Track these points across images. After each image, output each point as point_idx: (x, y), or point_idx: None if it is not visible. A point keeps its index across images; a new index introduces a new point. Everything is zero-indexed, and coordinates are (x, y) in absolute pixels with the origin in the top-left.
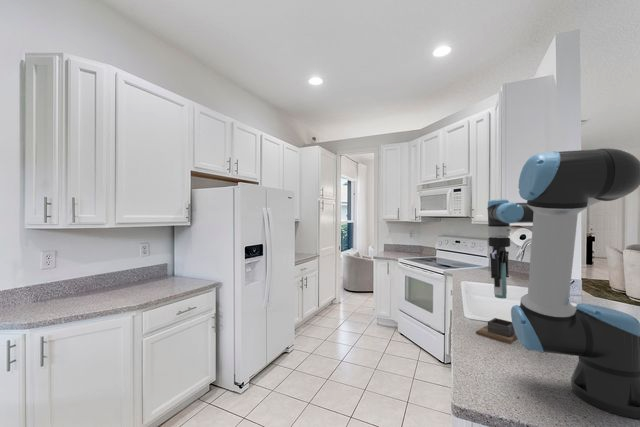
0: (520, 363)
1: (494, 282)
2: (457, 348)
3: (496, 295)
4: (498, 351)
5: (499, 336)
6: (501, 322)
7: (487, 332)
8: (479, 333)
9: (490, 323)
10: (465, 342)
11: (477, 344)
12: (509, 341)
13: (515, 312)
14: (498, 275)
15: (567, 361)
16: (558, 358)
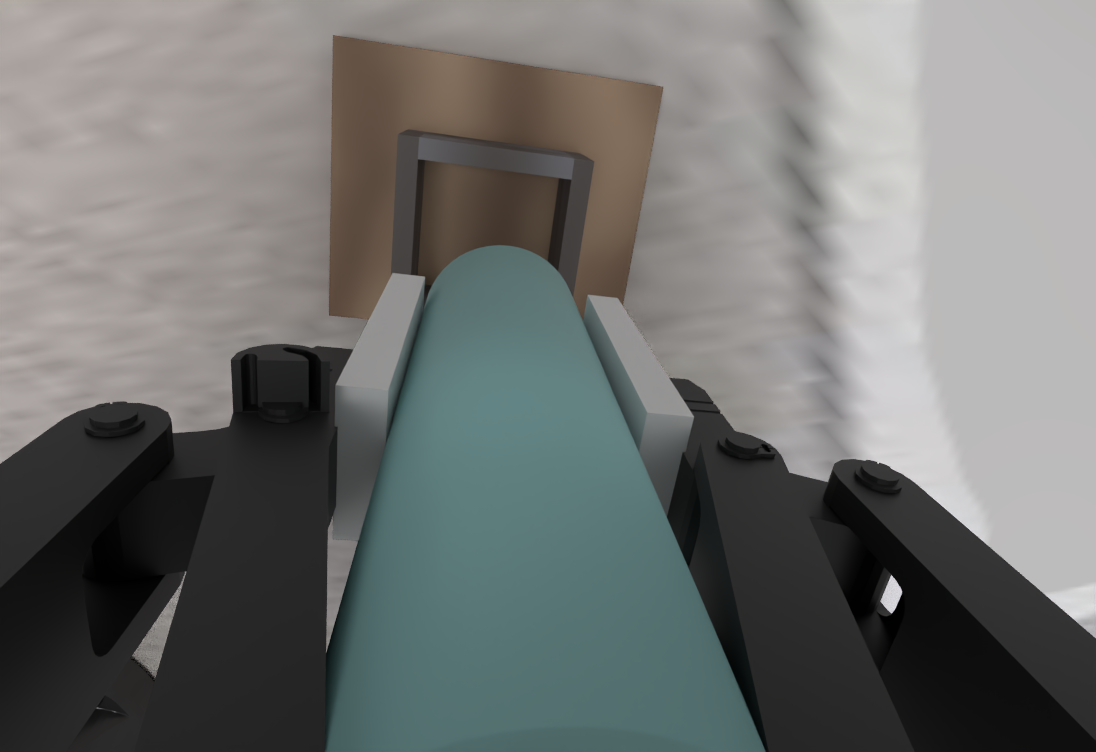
0: (53, 418)
1: (355, 355)
2: None
3: (432, 290)
4: (118, 277)
5: (365, 235)
6: (560, 224)
7: (384, 132)
8: (336, 69)
9: (397, 163)
10: (48, 16)
11: (105, 117)
12: (331, 311)
13: None
14: (114, 606)
15: (330, 577)
16: (335, 544)
